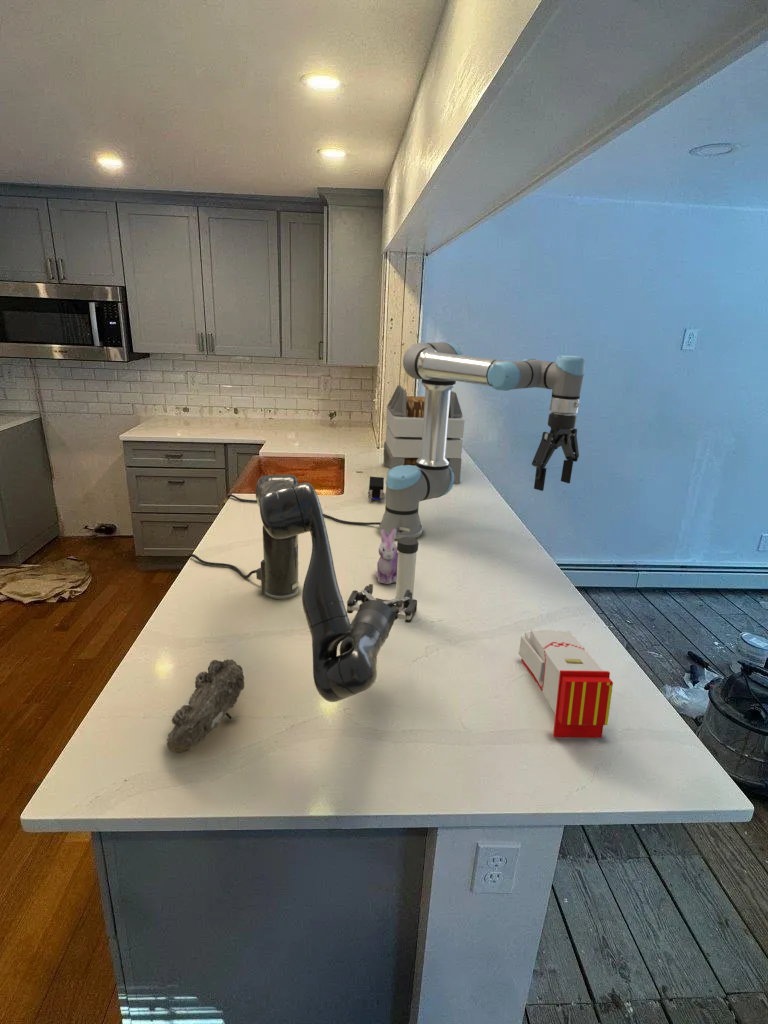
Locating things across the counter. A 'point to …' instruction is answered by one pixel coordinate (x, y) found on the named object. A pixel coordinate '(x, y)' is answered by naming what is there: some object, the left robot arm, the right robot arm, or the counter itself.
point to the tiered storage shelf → (419, 431)
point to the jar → (405, 574)
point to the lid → (407, 545)
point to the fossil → (206, 705)
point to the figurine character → (376, 488)
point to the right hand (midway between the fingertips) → (552, 485)
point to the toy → (568, 682)
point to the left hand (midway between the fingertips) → (389, 590)
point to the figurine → (387, 558)
